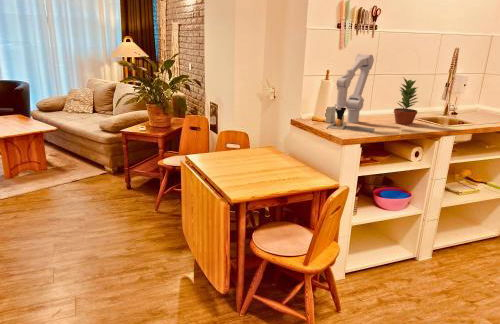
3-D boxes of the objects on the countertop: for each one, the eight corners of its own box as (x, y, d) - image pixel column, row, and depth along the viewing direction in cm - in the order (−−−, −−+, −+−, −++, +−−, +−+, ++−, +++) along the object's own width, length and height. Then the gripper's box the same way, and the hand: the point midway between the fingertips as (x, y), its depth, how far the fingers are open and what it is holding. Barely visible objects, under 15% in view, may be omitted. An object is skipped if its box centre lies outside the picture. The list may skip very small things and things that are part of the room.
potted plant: (418, 126, 248) (426, 78, 239) (393, 125, 251) (400, 77, 241) (414, 121, 262) (421, 76, 252) (390, 120, 265) (396, 75, 255)
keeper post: (336, 126, 239) (336, 119, 237) (340, 126, 238) (340, 119, 237) (335, 127, 237) (336, 119, 235) (339, 127, 236) (339, 120, 234)
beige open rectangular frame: (333, 124, 245) (334, 114, 243) (346, 125, 242) (347, 115, 240) (329, 128, 234) (330, 117, 232) (342, 129, 231) (343, 119, 229)
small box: (334, 121, 256) (336, 106, 253) (330, 123, 252) (331, 107, 249) (324, 120, 261) (325, 104, 258) (320, 121, 257) (321, 105, 254)
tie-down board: (330, 125, 245) (330, 123, 245) (375, 130, 235) (375, 128, 235) (326, 129, 234) (326, 127, 234) (372, 134, 224) (372, 132, 224)
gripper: (337, 95, 245) (335, 117, 249) (333, 98, 232) (331, 121, 236) (348, 96, 242) (346, 118, 246) (344, 99, 230) (342, 122, 234)
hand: (339, 119), depth 241 cm, fingers open, 3 cm apart
